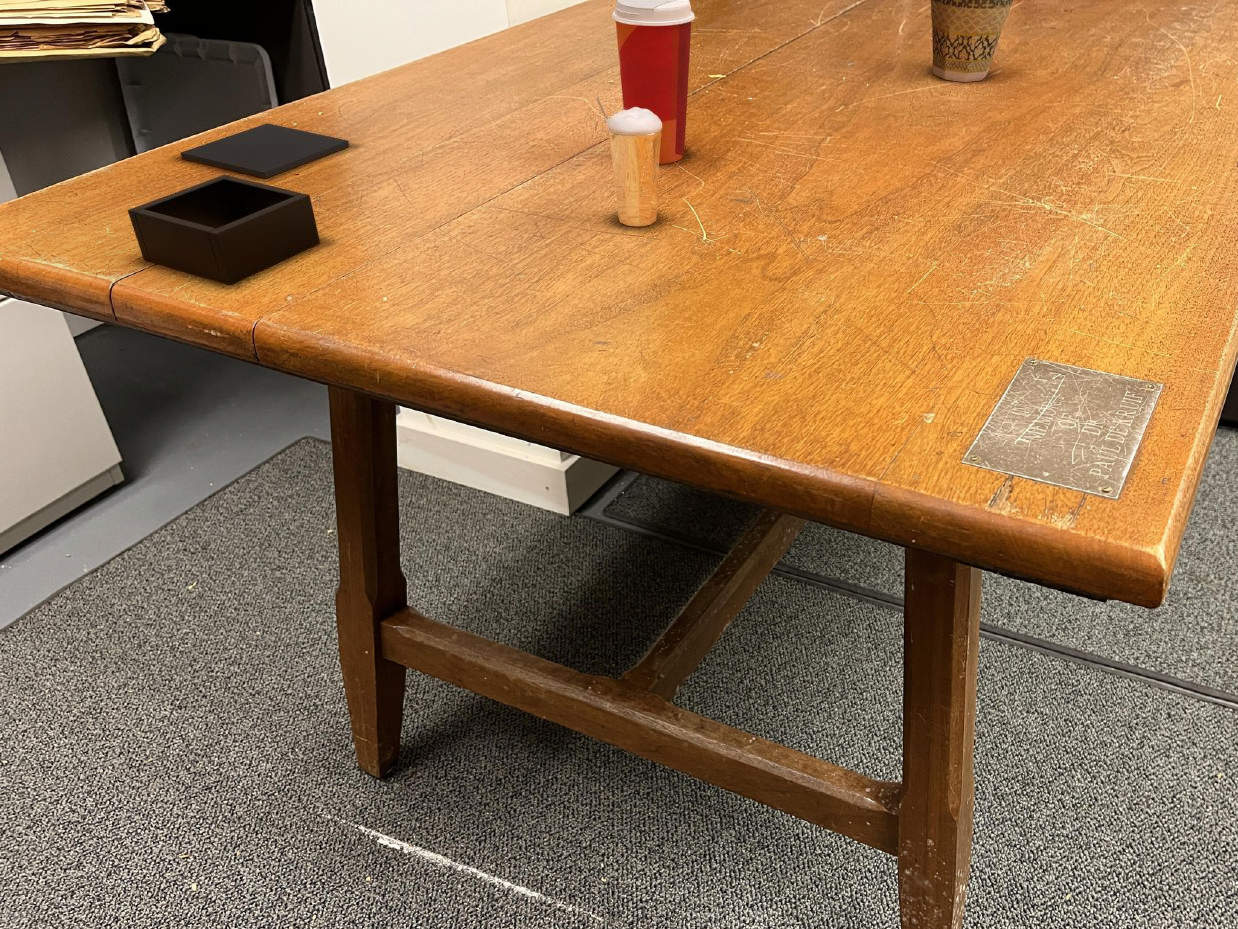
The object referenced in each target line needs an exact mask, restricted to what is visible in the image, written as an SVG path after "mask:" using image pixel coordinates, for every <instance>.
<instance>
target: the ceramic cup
mask: <svg viewBox="0 0 1238 929" xmlns="http://www.w3.org/2000/svg"><path fill="white" fill-rule="evenodd" d="M1013 1H1014V0H930V17H931V18H930V19H931V38H932V40H931V41H932V72H933V74H934V76H937V77H938V78H941V79H943V80H947V81H951V82H952V81H953V82H961V83H967V82H969V83H970V82H979V81H983V80H984V79H985V78H986V76H987V75H988V73H989V70H990V67H991V65H992V61H993V59H994V55H995V52H996V49H997V46H998V44H999V40H1000V37H1001V34H1002V31H1003V28H1004V26H1005V23H1006V21H1007V19H1008V17H1009V14H1010V11H1011V7H1012V5H1013Z"/></svg>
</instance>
